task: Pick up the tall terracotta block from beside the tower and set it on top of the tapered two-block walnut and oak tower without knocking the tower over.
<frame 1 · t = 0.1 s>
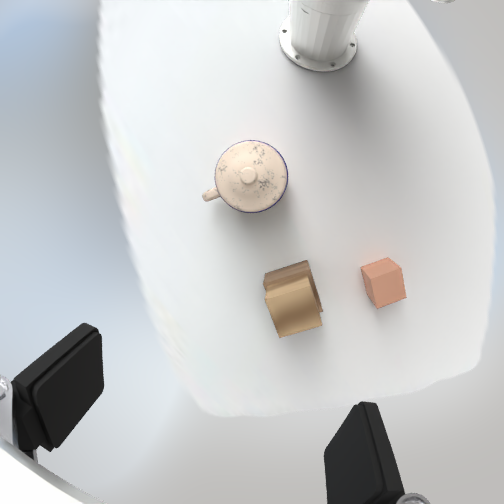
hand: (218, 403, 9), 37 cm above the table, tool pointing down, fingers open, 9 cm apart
tower base: (292, 286, 47), on the table, touching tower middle
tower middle: (293, 298, 42), point 5 cm above the table, touching tower base
teacup with lid: (248, 181, 44), on the table
terracotta block: (377, 275, 45), on the table
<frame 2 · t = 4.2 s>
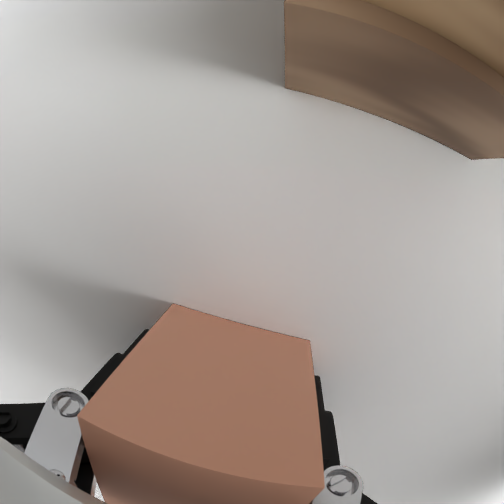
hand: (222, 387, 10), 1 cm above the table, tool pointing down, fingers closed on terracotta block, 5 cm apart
tower base: (400, 39, 7), on the table, touching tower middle
terracotta block: (226, 376, 11), on the table, touching gripper
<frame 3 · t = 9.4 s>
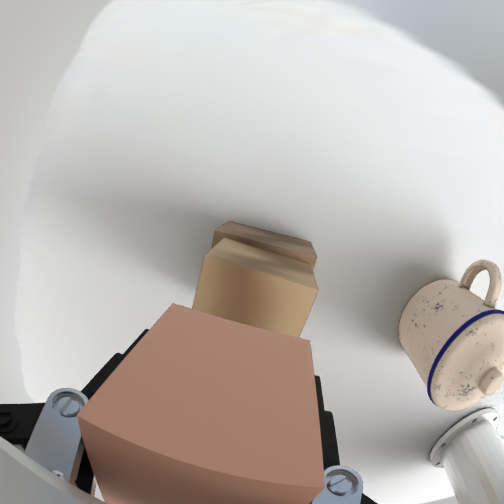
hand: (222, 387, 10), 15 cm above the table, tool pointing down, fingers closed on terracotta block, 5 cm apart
tower base: (259, 270, 25), on the table, touching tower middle
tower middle: (254, 290, 20), point 5 cm above the table, touching tower base
teacup with lid: (439, 305, 24), on the table
terracotta block: (226, 376, 11), point 15 cm above the table, touching gripper
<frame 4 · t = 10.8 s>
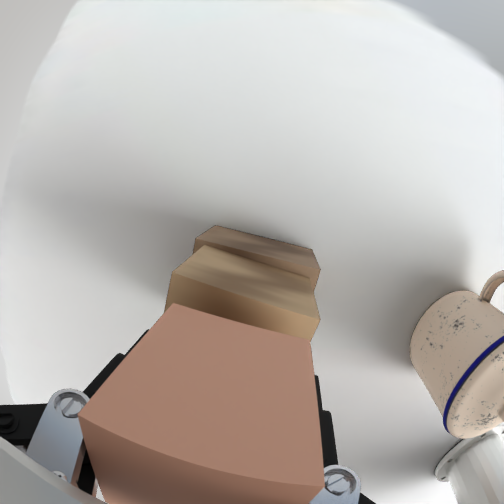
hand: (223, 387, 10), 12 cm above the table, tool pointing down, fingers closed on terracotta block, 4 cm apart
tower base: (252, 282, 21), on the table
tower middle: (241, 309, 17), point 5 cm above the table
teacup with lid: (454, 318, 20), on the table
terracotta block: (226, 376, 11), point 11 cm above the table, touching gripper
when the fingers open (12 cm above the table, at t = 11.1 s): terracotta block drops 1 cm, resting on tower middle.
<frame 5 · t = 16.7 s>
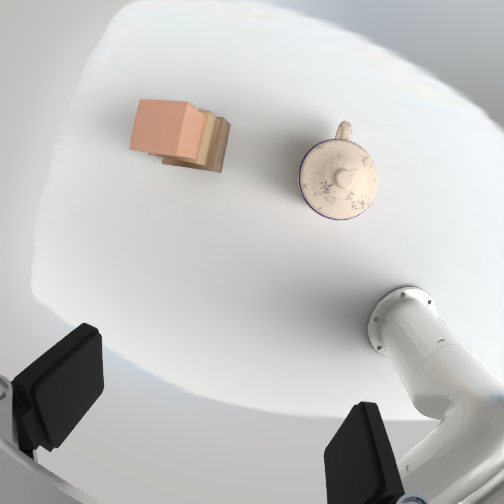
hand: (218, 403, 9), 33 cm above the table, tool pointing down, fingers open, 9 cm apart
tower base: (202, 145, 39), on the table, touching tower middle
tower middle: (191, 138, 34), point 5 cm above the table, touching terracotta block, tower base
teacup with lid: (329, 170, 38), on the table
terracotta block: (179, 134, 30), point 10 cm above the table, touching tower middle
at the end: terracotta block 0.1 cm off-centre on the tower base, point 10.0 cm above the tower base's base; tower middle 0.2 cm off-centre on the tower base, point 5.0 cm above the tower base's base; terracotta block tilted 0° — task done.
